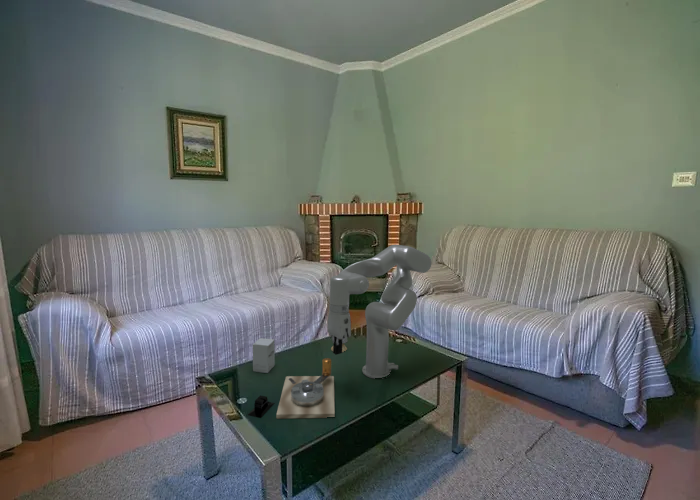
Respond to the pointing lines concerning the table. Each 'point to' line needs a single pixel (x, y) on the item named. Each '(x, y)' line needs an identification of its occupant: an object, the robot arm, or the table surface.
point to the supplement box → (263, 355)
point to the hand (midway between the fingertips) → (337, 353)
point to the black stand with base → (261, 407)
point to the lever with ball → (311, 388)
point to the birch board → (317, 411)
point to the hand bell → (342, 348)
